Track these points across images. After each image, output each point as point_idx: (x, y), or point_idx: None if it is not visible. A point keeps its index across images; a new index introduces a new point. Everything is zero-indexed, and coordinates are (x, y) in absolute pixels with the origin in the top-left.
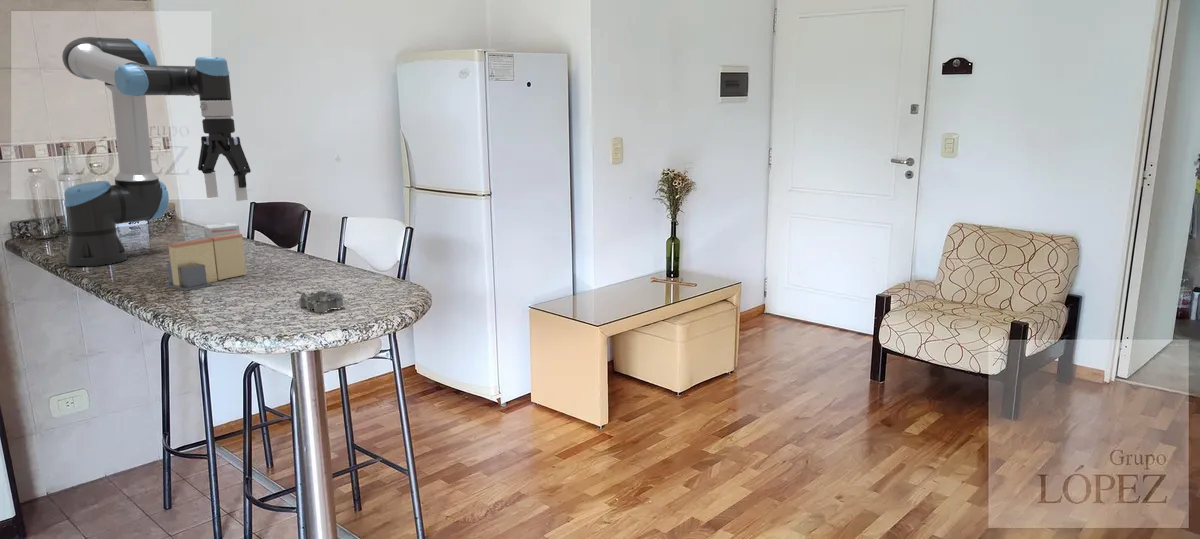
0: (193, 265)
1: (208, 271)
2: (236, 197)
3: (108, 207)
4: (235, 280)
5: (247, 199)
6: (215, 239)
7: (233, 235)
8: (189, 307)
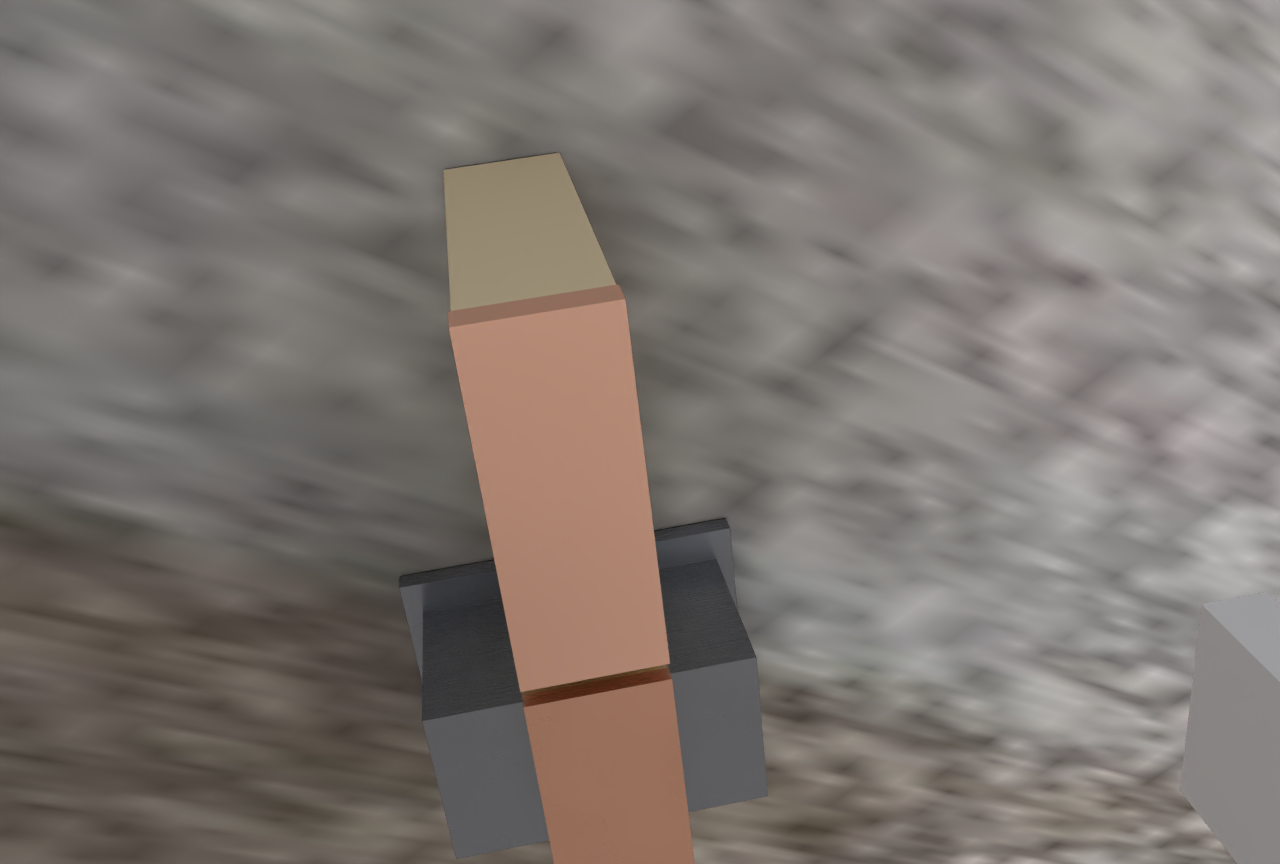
0: (699, 727)
1: None
2: (1236, 841)
3: None
4: (699, 318)
5: (1272, 599)
6: (664, 640)
7: (638, 425)
8: (1177, 783)
